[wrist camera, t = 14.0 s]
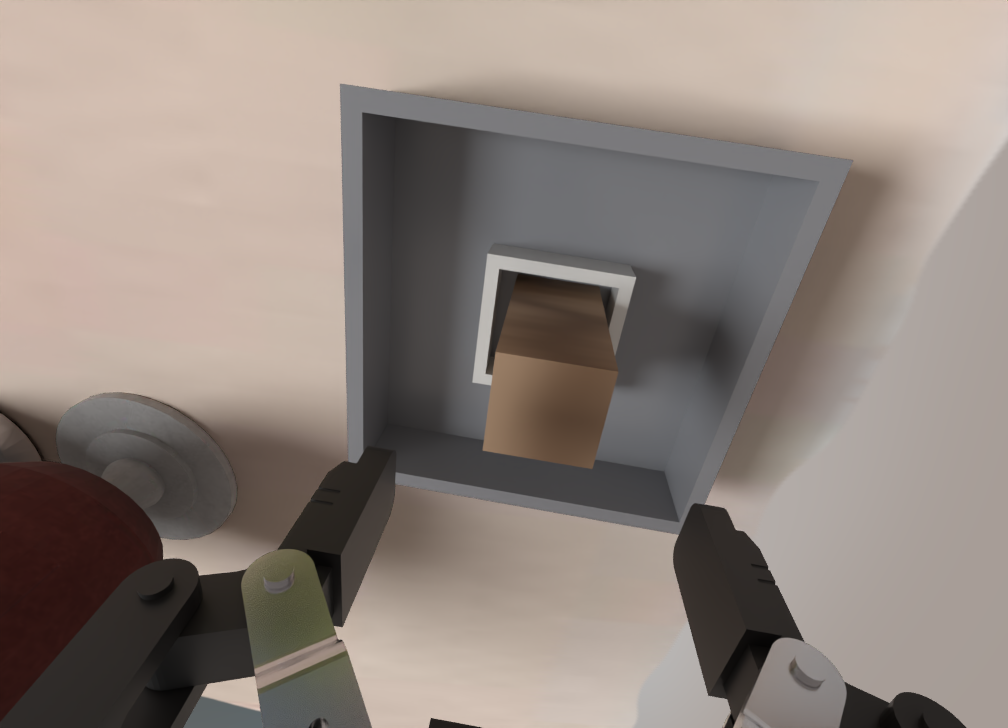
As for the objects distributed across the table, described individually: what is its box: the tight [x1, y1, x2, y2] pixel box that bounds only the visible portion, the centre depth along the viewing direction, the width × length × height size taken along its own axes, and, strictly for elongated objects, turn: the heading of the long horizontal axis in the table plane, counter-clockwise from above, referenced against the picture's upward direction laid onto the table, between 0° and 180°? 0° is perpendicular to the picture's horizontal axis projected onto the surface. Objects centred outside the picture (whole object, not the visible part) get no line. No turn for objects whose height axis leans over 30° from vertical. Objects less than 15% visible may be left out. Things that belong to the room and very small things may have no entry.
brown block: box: [483, 274, 618, 469], centre depth 20 cm, size 4×4×9 cm
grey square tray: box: [340, 84, 853, 535], centre depth 23 cm, size 18×18×5 cm
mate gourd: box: [0, 393, 237, 722], centre depth 25 cm, size 16×14×20 cm
